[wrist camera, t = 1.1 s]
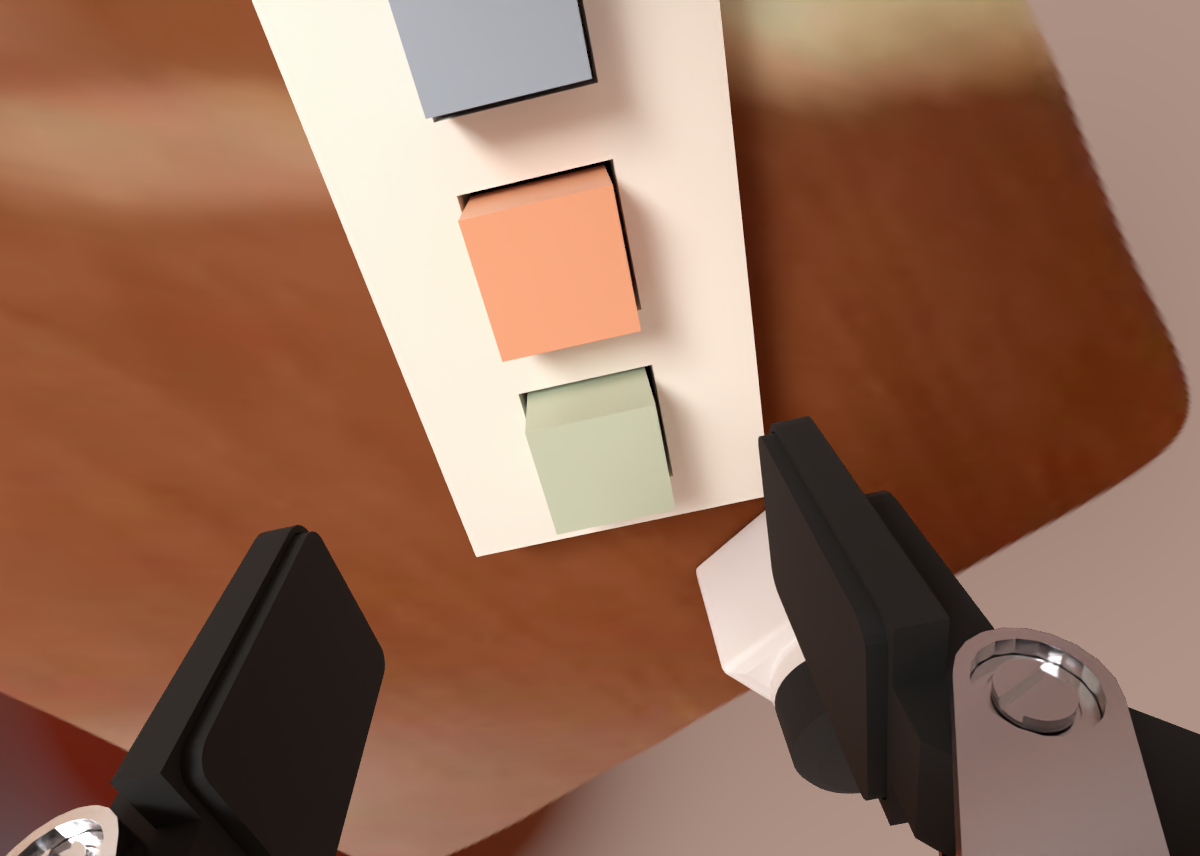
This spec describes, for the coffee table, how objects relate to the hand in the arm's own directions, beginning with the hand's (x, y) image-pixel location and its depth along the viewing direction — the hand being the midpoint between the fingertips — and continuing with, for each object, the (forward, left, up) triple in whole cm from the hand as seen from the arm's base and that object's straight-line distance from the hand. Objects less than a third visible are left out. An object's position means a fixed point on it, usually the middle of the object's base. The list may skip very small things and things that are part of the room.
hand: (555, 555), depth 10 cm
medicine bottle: (+20, +8, -20) cm, 29 cm away
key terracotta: (0, 0, -18) cm, 18 cm away
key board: (0, 0, -20) cm, 20 cm away
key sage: (+8, 0, -18) cm, 20 cm away
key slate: (-8, 0, -18) cm, 20 cm away
